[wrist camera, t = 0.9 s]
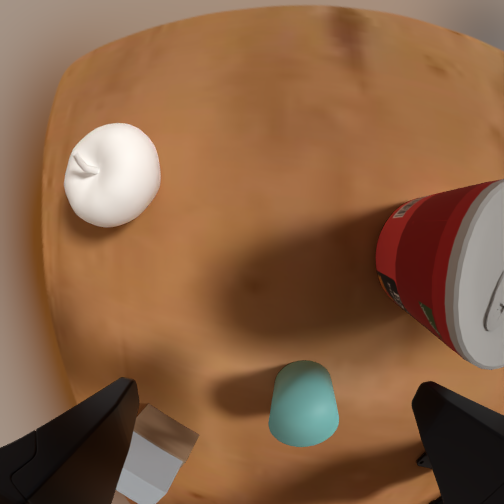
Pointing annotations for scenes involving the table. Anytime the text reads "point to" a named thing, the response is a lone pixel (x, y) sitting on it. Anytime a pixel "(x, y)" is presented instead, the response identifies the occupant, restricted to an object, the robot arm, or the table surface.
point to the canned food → (450, 268)
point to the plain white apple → (112, 175)
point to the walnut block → (165, 433)
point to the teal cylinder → (303, 405)
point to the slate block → (147, 472)
